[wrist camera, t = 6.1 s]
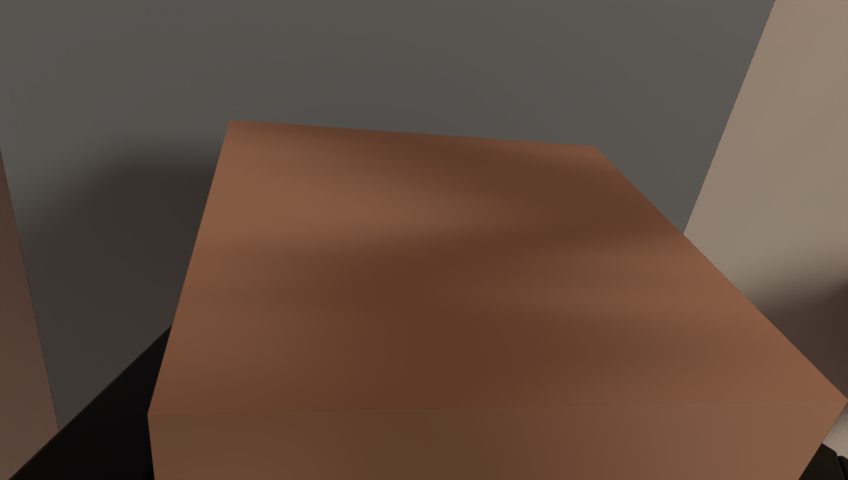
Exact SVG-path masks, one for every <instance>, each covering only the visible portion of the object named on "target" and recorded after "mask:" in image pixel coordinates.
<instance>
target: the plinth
mask: <svg viewBox="0 0 848 480" xmlns="http://www.w3.org/2000/svg"><path fill="white" fill-rule="evenodd" d="M774 2H775V0H0V150H1V155H2V160H3V164H4V169H5V174H6V179H7V184H8V188H9V193H10V198H11V203H12V208H13V212H14V217H15V222H16V227H17V232H18V236H19V241H20V246H21V251H22V255H23V260H24V265H25V270H26V275H27V279H28V284H29V289H30V294H31V299H32V303H33V308H34V313H35V318H36V323H37V327H38V332H39V337H40V342H41V347H42V351H43V356H44V361H45V366H46V370H47V375H48V380H49V385H50V390H51V394H52V399H53V404H54V409H55V414H56V418H57V423H58V428H59V431H60V430H61V429H62V428H63V427H65V426H66V425H67V424H68V423H69V422H70V421H71V420H72V419H73V418H74V417H75V416H76V415H77V414H78V413H79V412H80V411H81V410H82V409H83V408H85V407H86V406H87V405H88V404H89V403H90V402H91V401H92V400H93V399H94V398H95V397H96V396H97V395H98V394H99V393H100V392H101V391H102V390H103V389H105V388H106V387H107V386H108V385H109V384H110V383H111V382H112V381H113V380H114V379H115V378H116V377H117V376H118V375H119V374H120V373H121V372H122V371H123V370H124V369H126V368H127V367H128V366H129V365H130V364H131V363H132V362H133V361H134V360H135V359H136V358H137V357H138V356H139V355H140V354H141V353H142V352H143V351H144V350H146V349H147V348H148V347H149V346H150V345H151V344H152V343H153V342H154V341H155V340H156V339H157V338H158V337H159V336H160V335H161V334H162V333H163V332H164V331H166V330H167V329H168V328H169V327H170V326H171V325H172V324H173V321H174V318H175V314H176V311H177V307H178V303H179V300H180V296H181V293H182V289H183V285H184V282H185V278H186V275H187V271H188V267H189V264H190V260H191V257H192V253H193V250H194V246H195V242H196V239H197V235H198V232H199V228H200V224H201V221H202V217H203V214H204V210H205V206H206V203H207V199H208V196H209V192H210V188H211V185H212V181H213V178H214V174H215V171H216V167H217V163H218V160H219V156H220V153H221V149H222V145H223V142H224V138H225V135H226V131H227V127H228V124H229V120H240V121H254V122H268V123H282V124H296V125H310V126H324V127H337V128H351V129H365V130H379V131H393V132H407V133H421V134H435V135H449V136H463V137H477V138H491V139H505V140H519V141H533V142H547V143H561V144H574V145H588V146H595V147H596V148H597V149H598V150H599V151H600V152H601V153H602V154H603V155H604V156H605V157H606V158H607V159H608V160H609V161H610V162H611V163H612V164H613V165H614V166H615V167H616V168H617V169H618V170H619V171H620V172H621V173H622V174H623V175H624V176H625V177H626V178H627V179H628V180H629V181H630V182H631V183H632V184H633V185H634V186H635V187H636V188H637V189H638V190H639V191H640V192H641V193H642V194H643V195H644V196H645V197H646V198H647V199H648V200H649V201H650V202H651V203H652V204H653V205H654V206H655V207H656V208H657V209H658V210H659V211H660V212H661V213H662V214H663V215H664V216H665V217H666V218H667V219H668V220H669V221H670V222H671V223H672V224H673V225H674V226H675V227H676V228H677V229H678V230H679V231H680V232H681V233H682V234H683V233H684V231H685V228H686V226H687V223H688V221H689V218H690V216H691V213H692V210H693V208H694V205H695V203H696V200H697V198H698V195H699V193H700V190H701V188H702V185H703V183H704V180H705V177H706V175H707V172H708V170H709V167H710V165H711V162H712V160H713V157H714V155H715V152H716V149H717V147H718V144H719V142H720V139H721V137H722V134H723V132H724V129H725V127H726V124H727V121H728V119H729V116H730V114H731V111H732V109H733V106H734V104H735V101H736V99H737V96H738V93H739V91H740V88H741V86H742V83H743V81H744V78H745V76H746V73H747V71H748V68H749V66H750V63H751V60H752V58H753V55H754V53H755V50H756V48H757V45H758V43H759V40H760V38H761V35H762V32H763V30H764V27H765V25H766V22H767V20H768V17H769V15H770V12H771V10H772V7H773V4H774Z"/></svg>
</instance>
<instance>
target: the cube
mask: <svg viewBox="0 0 848 480" xmlns="http://www.w3.org/2000/svg"><path fill="white" fill-rule="evenodd" d="M847 403H848V399H847V398H846V397H845V396H844V395H843V394H842V393H841V392H840V391H839V390H838V389H837V388H836V387H835V386H834V385H833V384H832V383H831V382H830V381H829V380H828V379H827V378H826V377H825V376H824V375H823V374H822V373H821V372H820V371H819V370H818V369H817V368H816V367H815V366H814V365H813V364H812V363H811V362H810V361H809V360H808V359H807V358H806V357H805V356H804V355H803V354H802V353H801V352H800V351H799V350H798V349H797V348H796V347H795V346H794V345H793V344H792V343H791V342H790V341H789V340H788V339H787V338H786V337H785V336H784V335H783V334H782V333H781V332H780V331H779V330H778V329H777V328H776V327H775V326H774V325H773V324H772V323H771V322H770V321H769V320H768V319H767V318H766V317H765V316H764V315H763V314H762V313H761V312H760V311H759V310H758V309H757V308H756V307H755V306H754V305H753V304H752V303H751V302H750V301H749V300H748V299H747V298H746V297H745V296H744V295H743V294H742V293H741V292H740V291H739V290H738V289H737V288H736V287H735V286H734V285H733V284H732V283H731V282H730V281H729V280H728V279H727V278H726V277H725V276H724V275H723V274H722V273H721V272H720V271H719V270H718V269H717V268H716V267H715V266H714V265H713V264H712V263H711V262H710V261H709V260H708V259H707V258H706V257H705V256H704V255H703V254H702V253H701V252H700V251H699V250H698V249H697V248H696V247H695V246H694V245H693V244H692V243H691V242H690V241H689V240H688V239H687V238H686V237H685V236H684V235H683V234H682V233H681V232H680V231H679V230H678V229H677V228H676V227H675V226H674V225H673V224H672V223H671V222H670V221H669V220H668V219H667V218H666V217H665V216H664V215H663V214H662V213H661V212H660V211H659V210H658V209H657V208H656V207H655V206H654V205H653V204H652V203H651V202H650V201H649V200H648V199H647V198H646V197H645V196H644V195H643V194H642V193H641V192H640V191H639V190H638V189H637V188H636V187H635V186H634V185H633V184H632V183H631V182H630V181H629V180H628V179H627V178H626V177H625V176H624V175H623V174H622V173H621V172H620V171H619V170H618V169H617V168H616V167H615V166H614V165H613V164H612V163H611V162H610V161H609V160H608V159H607V158H606V157H605V156H604V155H603V154H602V153H601V152H600V151H599V150H598V149H597V148H596V147H595V146H588V145H574V144H561V143H547V142H533V141H519V140H505V139H491V138H477V137H463V136H449V135H435V134H421V133H407V132H393V131H379V130H365V129H351V128H337V127H324V126H310V125H296V124H282V123H268V122H254V121H240V120H229V124H228V127H227V131H226V135H225V138H224V142H223V145H222V149H221V153H220V156H219V160H218V163H217V167H216V171H215V174H214V178H213V181H212V185H211V188H210V192H209V196H208V199H207V203H206V206H205V210H204V214H203V217H202V221H201V224H200V228H199V232H198V235H197V239H196V242H195V246H194V250H193V253H192V257H191V260H190V264H189V267H188V271H187V275H186V278H185V282H184V285H183V289H182V293H181V296H180V300H179V303H178V307H177V311H176V314H175V318H174V321H173V325H172V329H171V332H170V336H169V339H168V343H167V346H166V350H165V354H164V357H163V361H162V364H161V368H160V372H159V375H158V379H157V382H156V386H155V390H154V393H153V397H152V400H151V404H150V408H149V411H148V423H149V432H150V441H151V450H152V459H153V469H154V478H155V480H798V479H799V478H800V476H801V475H802V473H803V472H804V470H805V468H806V467H807V465H808V464H809V462H810V461H811V459H812V457H813V456H814V454H815V453H816V451H817V450H818V448H819V447H820V445H821V443H822V442H823V440H824V439H825V437H826V436H827V434H828V432H829V431H830V429H831V428H832V426H833V425H834V423H835V421H836V420H837V418H838V417H839V415H840V414H841V412H842V410H843V409H844V407H845V406H846V404H847Z"/></svg>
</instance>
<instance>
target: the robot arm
mask: <svg viewBox="0 0 848 480" xmlns="http://www.w3.org/2000/svg"><path fill="white" fill-rule="evenodd" d="M172 325H173V324H172ZM172 325H171V326H170V327H169V328H168V329H167V330H166V331H164V332H163V333H162V334H161V335H160V336H159V337H158V338H157V339H156V340H155V341H154V342H153V343H152V344H151V345H150V346H149V347H148V348H147V349H146V350H144V351H143V352H142V353H141V354H140V355H139V356H138V357H137V358H136V359H135V360H134V361H133V362H132V363H131V364H130V365H129V366H128V367H127V368H126V369H124V370H123V371H122V372H121V373H120V374H119V375H118V376H117V377H116V378H115V379H114V380H113V381H112V382H111V383H110V384H109V385H108V386H107V387H106V388H105V389H103V390H102V391H101V392H100V393H99V394H98V395H97V396H96V397H95V398H94V399H93V400H92V401H91V402H90V403H89V404H88V405H87V406H86V407H85V408H83V409H82V410H81V411H80V412H79V413H78V414H77V415H76V416H75V417H74V418H73V419H72V420H71V421H70V422H69V423H68V424H67V425H66V426H65V427H63V428H62V429H61V430H60V431H59V432H58V433H57V434H56V435H55V436H54V437H53V438H52V439H51V440H50V441H49V442H48V443H47V444H46V445H45V446H44V447H42V448H41V449H40V450H39V451H38V452H37V453H36V454H35V455H34V456H33V457H32V458H31V459H30V460H29V461H28V462H27V463H26V464H25V465H24V466H22V467H21V468H20V469H19V470H18V471H17V472H16V473H15V474H14V475H13V476H12V477H11V478H10V479H9V480H155V478H154V469H153V459H152V450H151V441H150V432H149V423H148V411H149V408H150V404H151V400H152V397H153V393H154V390H155V386H156V382H157V379H158V375H159V372H160V368H161V364H162V361H163V357H164V354H165V350H166V346H167V343H168V339H169V336H170V332H171V329H172ZM798 480H848V459H847V458H845V457H844V456H837V453H836V452H835V451H834V450H832V449H831V448H829V447H827V446H826V445H824V444H823V443H821V445H820V447H819V448H818V450H817V451H816V453H815V454H814V456H813V457H812V459H811V461H810V462H809V464H808V465H807V467H806V468H805V470H804V472H803V473H802V475H801V476H800V478H799V479H798Z"/></svg>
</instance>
